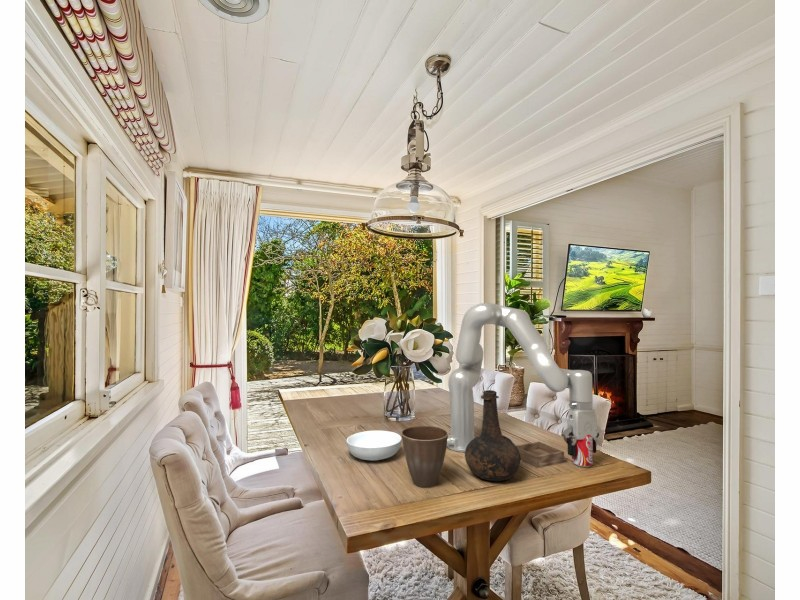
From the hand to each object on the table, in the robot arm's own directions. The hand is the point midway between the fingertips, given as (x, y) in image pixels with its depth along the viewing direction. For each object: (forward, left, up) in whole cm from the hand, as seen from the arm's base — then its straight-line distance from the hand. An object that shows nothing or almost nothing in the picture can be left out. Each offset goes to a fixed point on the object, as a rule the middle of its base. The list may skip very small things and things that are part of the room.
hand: (582, 453), depth 140 cm
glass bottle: (-35, +5, -4) cm, 36 cm away
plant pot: (-58, +9, -4) cm, 59 cm away
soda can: (0, 0, -4) cm, 4 cm away
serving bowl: (-65, +38, -4) cm, 75 cm away
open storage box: (-10, +11, -4) cm, 15 cm away
